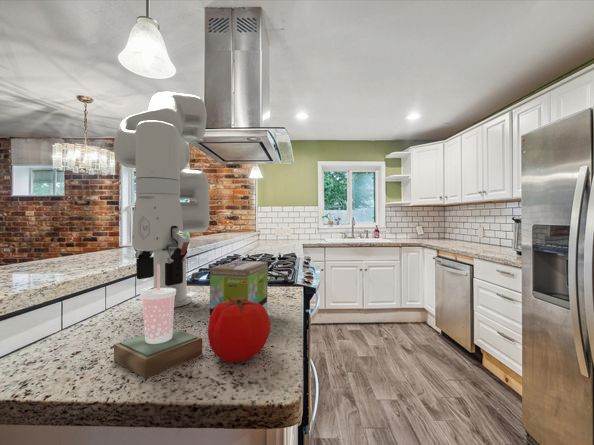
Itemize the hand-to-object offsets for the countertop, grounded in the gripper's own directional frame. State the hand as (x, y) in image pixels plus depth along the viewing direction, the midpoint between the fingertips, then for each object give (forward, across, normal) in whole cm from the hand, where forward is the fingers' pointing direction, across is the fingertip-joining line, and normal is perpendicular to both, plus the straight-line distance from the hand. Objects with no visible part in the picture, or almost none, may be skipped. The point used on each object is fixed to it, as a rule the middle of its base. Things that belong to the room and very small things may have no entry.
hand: (159, 281), depth 56 cm
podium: (+14, +1, 0) cm, 14 cm away
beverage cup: (+11, 0, 0) cm, 11 cm away
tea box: (+15, -1, +22) cm, 27 cm away
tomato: (+14, +13, +8) cm, 21 cm away
